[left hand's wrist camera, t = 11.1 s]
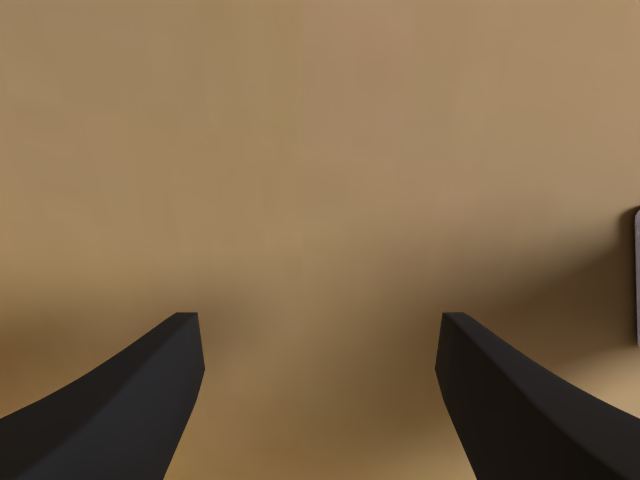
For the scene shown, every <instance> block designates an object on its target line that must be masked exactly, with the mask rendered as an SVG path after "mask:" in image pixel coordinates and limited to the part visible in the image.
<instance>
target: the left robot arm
mask: <svg viewBox="0 0 640 480" xmlns="http://www.w3.org/2000/svg"><path fill="white" fill-rule="evenodd" d="M635 251H636V294H637V338H638V346H639V347H640V210H639V211H638V212H637V214H636V216H635ZM204 371H205V366H204V358H203V351H202V343H201V336H200V328H199V321H198V314H197V313H175V314H173V315H172V316H170V317H169V318H167V319H166V320H164V321H163V322H162V323H160V324H159V325H157V326H156V327H155V328H153V329H152V330H151V331H149V332H148V333H146V334H145V335H144V336H142V337H141V338H139V339H138V340H137V341H135V342H134V343H132V344H131V345H130V346H128V347H127V348H125V349H124V350H122V351H121V352H119V353H118V354H116V355H115V356H113V357H112V358H110V359H109V360H107V361H106V362H104V363H103V364H101V365H100V366H98V367H96V368H95V369H93V370H92V371H90V372H89V373H87V374H85V375H84V376H82V377H81V378H79V379H77V380H75V381H74V382H72V383H70V384H68V385H67V386H65V387H63V388H61V389H59V390H58V391H56V392H54V393H52V394H50V395H48V396H47V397H45V398H43V399H41V400H39V401H37V402H35V403H33V404H30V405H28V406H26V407H24V408H22V409H20V410H18V411H16V412H14V413H12V414H10V415H8V416H5V417H3V418H1V419H0V480H163V479H164V476H165V474H166V471H167V469H168V467H169V464H170V462H171V460H172V457H173V455H174V452H175V450H176V448H177V445H178V443H179V441H180V438H181V436H182V434H183V431H184V429H185V427H186V424H187V422H188V420H189V417H190V415H191V412H192V410H193V408H194V405H195V403H196V400H197V396H198V393H199V390H200V386H201V382H202V379H203V375H204ZM435 371H436V375H437V379H438V382H439V386H440V390H441V393H442V396H443V400H444V403H445V405H446V408H447V410H448V412H449V415H450V417H451V420H452V422H453V424H454V427H455V429H456V431H457V434H458V436H459V438H460V441H461V443H462V445H463V448H464V450H465V452H466V455H467V457H468V460H469V462H470V464H471V467H472V469H473V471H474V474H475V476H476V479H477V480H640V419H639V418H637V417H635V416H633V415H631V414H628V413H626V412H624V411H622V410H620V409H618V408H616V407H614V406H612V405H610V404H608V403H606V402H604V401H602V400H600V399H598V398H596V397H594V396H592V395H590V394H588V393H587V392H585V391H583V390H581V389H579V388H577V387H576V386H574V385H572V384H570V383H568V382H567V381H565V380H563V379H562V378H560V377H558V376H556V375H555V374H553V373H552V372H550V371H548V370H547V369H545V368H544V367H542V366H541V365H539V364H537V363H536V362H534V361H533V360H531V359H530V358H528V357H527V356H525V355H524V354H522V353H521V352H519V351H518V350H516V349H515V348H513V347H512V346H511V345H509V344H508V343H506V342H505V341H504V340H502V339H501V338H499V337H498V336H497V335H495V334H494V333H492V332H491V331H490V330H488V329H487V328H486V327H484V326H483V325H481V324H480V323H479V322H477V321H476V320H474V319H473V318H471V317H470V316H468V315H467V314H465V313H443V314H442V321H441V328H440V336H439V343H438V351H437V358H436V366H435Z"/></svg>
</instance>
